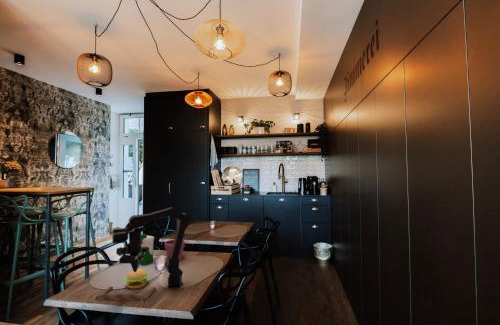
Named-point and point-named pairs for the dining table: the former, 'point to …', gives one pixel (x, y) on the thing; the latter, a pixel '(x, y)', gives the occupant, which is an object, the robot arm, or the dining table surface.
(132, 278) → the hamburger
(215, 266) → the dining table surface
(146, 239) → the milk carton
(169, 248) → the plant pot
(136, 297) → the frame
